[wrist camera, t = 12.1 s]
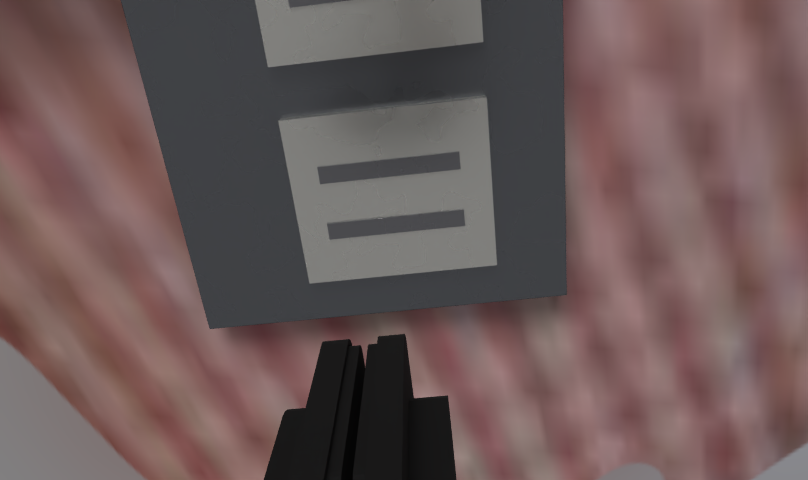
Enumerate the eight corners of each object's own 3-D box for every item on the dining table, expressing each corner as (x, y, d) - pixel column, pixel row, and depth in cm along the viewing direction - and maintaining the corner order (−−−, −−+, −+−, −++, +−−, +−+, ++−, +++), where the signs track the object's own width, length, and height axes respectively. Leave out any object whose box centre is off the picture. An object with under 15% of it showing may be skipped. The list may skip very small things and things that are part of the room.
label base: (546, -368, 19) (571, -433, 16) (558, 279, 28) (576, 314, 25) (61, -294, 20) (1, -343, 17) (219, 312, 29) (197, 349, 26)
